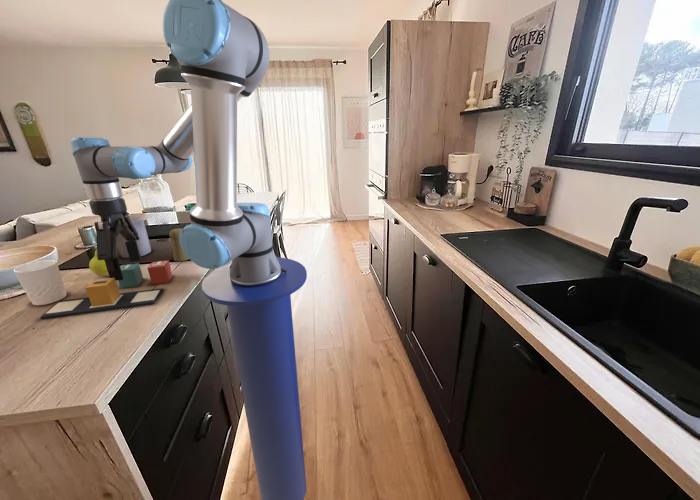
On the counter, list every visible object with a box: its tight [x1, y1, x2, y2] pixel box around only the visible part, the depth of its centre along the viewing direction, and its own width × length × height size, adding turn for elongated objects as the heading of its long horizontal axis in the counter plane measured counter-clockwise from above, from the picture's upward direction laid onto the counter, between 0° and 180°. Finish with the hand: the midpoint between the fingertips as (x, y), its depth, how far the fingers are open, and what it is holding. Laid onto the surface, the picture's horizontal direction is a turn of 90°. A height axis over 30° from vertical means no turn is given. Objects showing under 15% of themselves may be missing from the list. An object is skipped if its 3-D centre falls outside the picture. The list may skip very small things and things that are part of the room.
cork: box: [168, 228, 190, 262], centre depth 103 cm, size 6×6×11 cm
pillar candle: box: [116, 215, 152, 259], centre depth 107 cm, size 10×10×15 cm
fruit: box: [88, 249, 109, 277], centre depth 90 cm, size 7×7×12 cm
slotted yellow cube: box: [85, 277, 121, 307], centre depth 75 cm, size 4×4×6 cm
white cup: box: [12, 259, 68, 306], centre depth 76 cm, size 8×8×10 cm
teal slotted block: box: [117, 262, 144, 289], centre depth 85 cm, size 4×4×6 cm
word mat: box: [40, 287, 164, 320], centre depth 76 cm, size 24×8×1 cm, turn 107°
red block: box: [147, 259, 173, 285], centre depth 88 cm, size 4×4×6 cm
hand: (127, 269), depth 85 cm, fingers open, 13 cm apart
